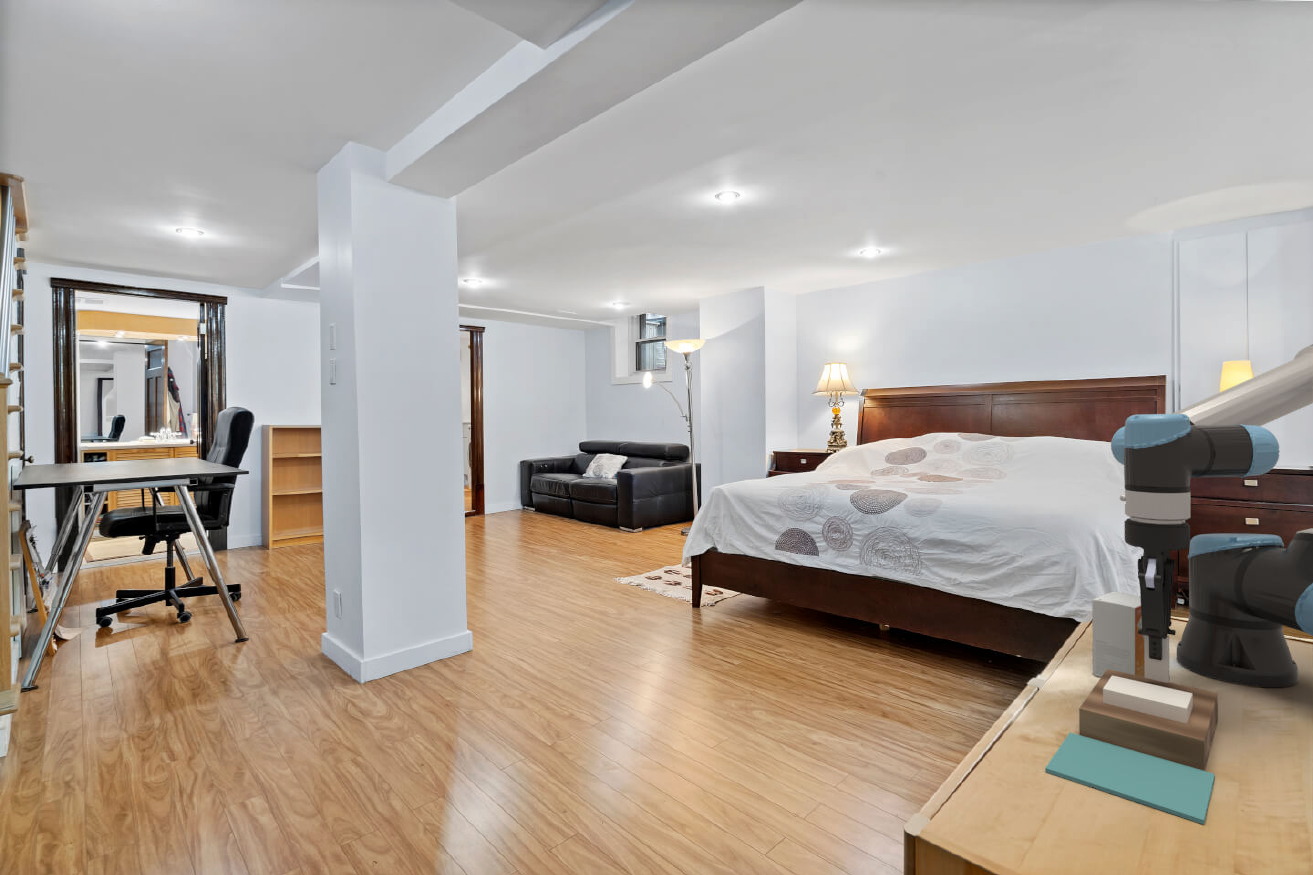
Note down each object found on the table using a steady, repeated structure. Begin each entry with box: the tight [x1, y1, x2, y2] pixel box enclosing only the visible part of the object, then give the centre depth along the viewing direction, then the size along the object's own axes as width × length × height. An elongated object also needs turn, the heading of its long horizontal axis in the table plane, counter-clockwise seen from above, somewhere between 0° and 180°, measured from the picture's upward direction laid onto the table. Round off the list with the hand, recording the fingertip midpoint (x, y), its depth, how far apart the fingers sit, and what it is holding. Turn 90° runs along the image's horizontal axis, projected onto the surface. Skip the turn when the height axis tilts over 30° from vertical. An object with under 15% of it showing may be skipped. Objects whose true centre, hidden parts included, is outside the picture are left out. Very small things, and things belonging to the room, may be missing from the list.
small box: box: [1091, 590, 1145, 678], centre depth 106 cm, size 8×6×13 cm
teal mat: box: [1044, 732, 1216, 825], centre depth 78 cm, size 12×15×1 cm
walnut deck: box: [1078, 669, 1219, 771], centre depth 88 cm, size 18×13×4 cm
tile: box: [1103, 676, 1193, 724], centre depth 87 cm, size 6×9×2 cm, turn 44°
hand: (1156, 678), depth 93 cm, fingers closed
